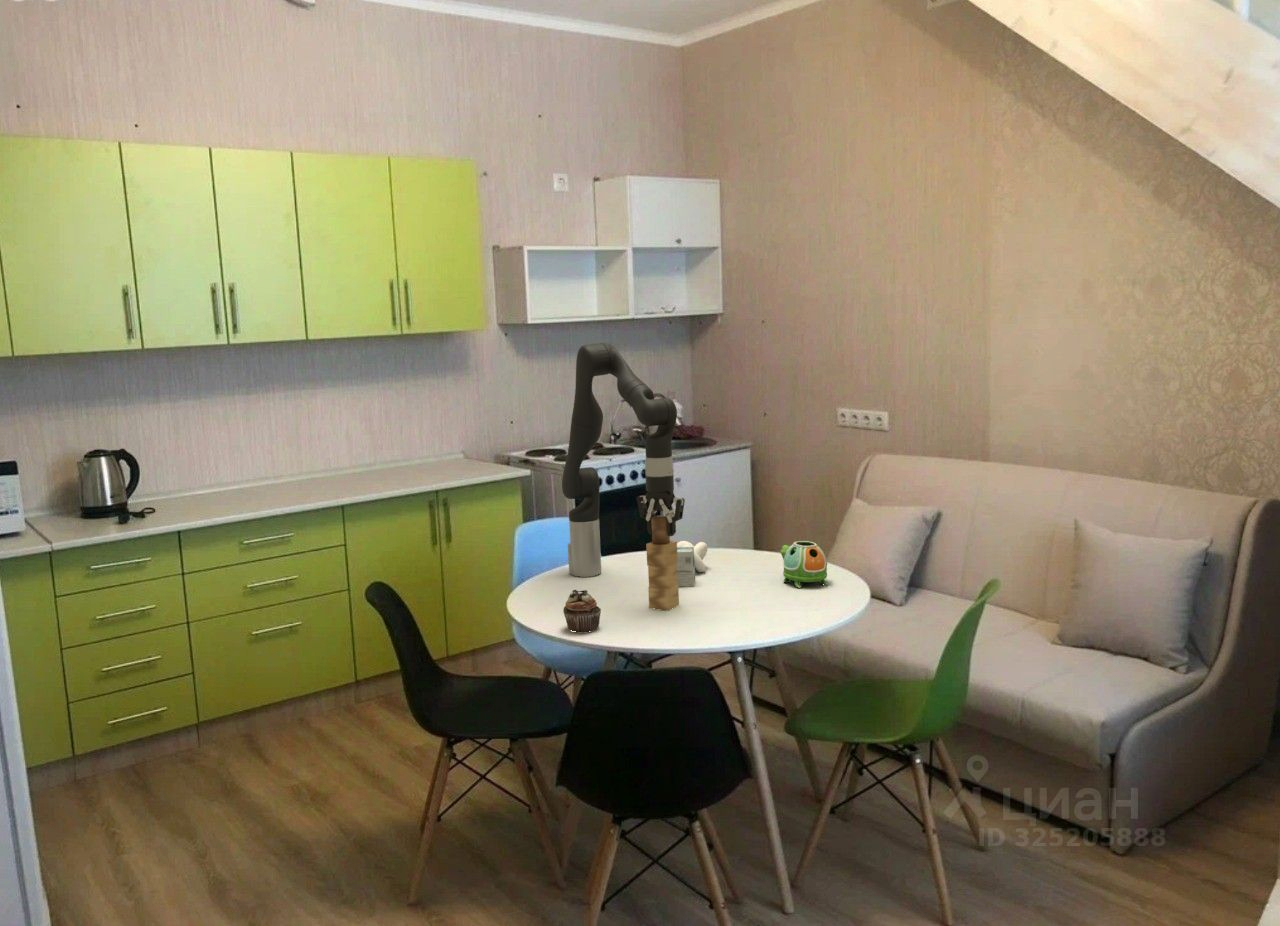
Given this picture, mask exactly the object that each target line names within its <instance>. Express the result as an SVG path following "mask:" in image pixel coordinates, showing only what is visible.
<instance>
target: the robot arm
mask: <svg viewBox="0 0 1280 926" xmlns="http://www.w3.org/2000/svg"><path fill="white" fill-rule="evenodd" d="M575 362H576V363H575V390H574V401H573V407H572V408H573V409H572V414H571V422H570V429H569V430H570V431H569V441H568V442H569V443H568V448H567V454H566V459H565V462H564V463H565V464H564V468H563V472H562V478H561V489H562V494H563V495H564V497H565V498H566V499H568V500H577V499H583V501H582V502H581V503H580V504H579V505H578V506H576V507H573V508H572V509H570V510H569V512H568V520H569V521H568V523H569V525H568V526H569V541H570V543H568V544H567V554H568V555H567V556H568V574H569V575H572V576H574V577H578V576H580V577H579V578H581V577H582V578H588V577H589V576H590V577H595V575H596V576H598V574H599V575H601V574H602V557H601V536H600V535H601V534H600V517H599V516H600V478H599V477H600V476H599V474H598V471H597V469H596V468H594V467H591V466H590V467H581V466H582V463H583V461H584V459H585V458H586V456H587V455H588V454H589V453H590V452H591V450H592V449H593V448H594V447H595V445H596V444H597V442H598V441H599V439H600V437H601V434H602V428H603V422H604V413H603V410H602V407H601V406H600V404H599V402H598V400H597V399H596V397H595V395H594V392H593V380H594V378H595V377H600V376H605V375H608V374H610V375H612V376H614V377H615V378H616V387H617V391H618V394H619V395H620V397H621V398H622V399H623V401H625V402H626V403H627V404H628V405H629V406H630V407H631V408H632V410H633V412H634V414H635V416H636V418H637V419H638V421H639V423H640V424H642V425H643V426H646V427H656V426H657V428H656V431H655V432H653V433H651V434H649V435H647V436H646V438H645V441H644V443H645V444H644V445H645V446H644V447H645V463H644V464H645V465H644V467H645V490H646V494H645V495H643V494H642V495H639V496H637V497H636V502H637V507H638V508H637V509H638V513H639V517H640V518H641V519H644V520H646V530H647V532H648V534H649V535H651V536H652V526H651V517H653V516H656V513H657V512H658V511H660V512H663V514H664V516H667V519H668V521H669V523H668V536H670V537H673V536H675V534H676V532H677V528H676V527H677V525H676V524H677V523H676V522H677V521H680V520H682V519H683V516H684V510H685V508H684V507H685V502H686V501H685V500H686V499H685V498H684V497H680V498H679V497H676V495H675V493H674V491H675V490H674V489H675V479H674V478H675V477H674V472H675V470H674V460H673V451H672V449H673V448H672V447H673V446H672V445H673V444H672V442H673V440H672V439H673V436H674V432H675V431H674V430H675V427H676V423H677V417H678V411H677V406H676V404H675V402H674V401H673V400H672V399H671V398H666V397H665V398H655V393H654V392H653V390H652V389H651V388H650V387H649V386H648V385H647V384H646V383H645V382H643V380H641V379H640V378H639V377H638V376H637V375H636V374H635V373H634V372H633V370H632V369H631V367H630V366H629V364H628V363H627V362H626V360H625V358H624V357H623V356H622V355H621V353H620V352H619V351H618V349H617V348H616V347H615V346H614V345H613V344H612V343H609V342H599V343H598V342H596V343H590V344H589V343H588V344H583V345H582V346H580V347H579V349H578V351H577V354H576V361H575ZM647 502H648V507H647ZM673 504H674V506H675V508H674V506H673ZM600 573H601V574H600Z"/></svg>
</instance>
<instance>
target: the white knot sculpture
mask: <svg viewBox="0 0 1280 926" xmlns="http://www.w3.org/2000/svg"><path fill="white" fill-rule="evenodd" d="M691 546H693V547H694V563H695V571H697V572H698V573H701V572H702V573H704V572H705V571H706V568H707V567H706V565H705V563H704V561H703V560H704V558H705V557H706V555H707V554H708V553H707V552H708V545H707V543H706V542H703V541H699V542H697V543H696V544H695V545H693V544H692V543H691V542H690V541H687V540H681V541H677V547H691Z"/></svg>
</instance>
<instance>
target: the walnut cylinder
mask: <svg viewBox="0 0 1280 926" xmlns="http://www.w3.org/2000/svg"><path fill="white" fill-rule="evenodd" d="M668 523H669V521H668V519H667V516H666V515H655V516H653V517H651V526H652V535H651V542H652V543H653V544H668V543H670V541H671V536H668Z"/></svg>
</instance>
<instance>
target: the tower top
mask: <svg viewBox="0 0 1280 926" xmlns="http://www.w3.org/2000/svg"><path fill="white" fill-rule="evenodd" d="M677 543H678V541H677V540H670V543H668V544H653V543H652V541H650V542H648V543H646V544H645V545H646V546H645V548H646V565H647V567H648V566H655V567H663V568H667V567H669V566H671V565H674V564H676V563H678V558H677Z"/></svg>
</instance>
